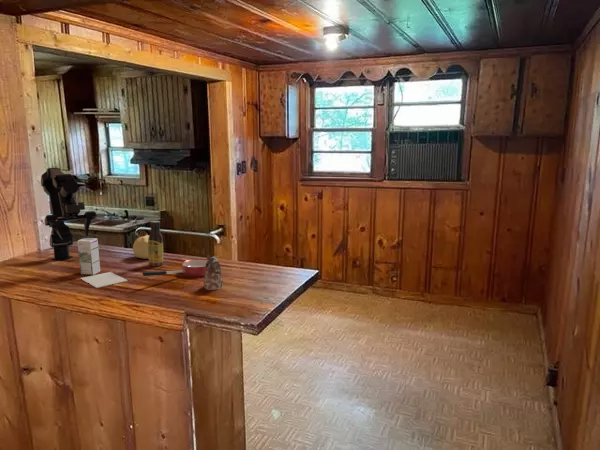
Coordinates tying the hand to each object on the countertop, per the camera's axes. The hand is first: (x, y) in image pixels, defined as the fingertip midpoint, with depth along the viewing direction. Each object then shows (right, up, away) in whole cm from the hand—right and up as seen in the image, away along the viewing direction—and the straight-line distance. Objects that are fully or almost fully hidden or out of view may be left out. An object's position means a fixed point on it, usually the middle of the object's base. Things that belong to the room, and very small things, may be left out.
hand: (75, 237), depth 178 cm
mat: (+15, -17, -7) cm, 23 cm away
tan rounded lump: (+20, -10, +28) cm, 36 cm away
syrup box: (+5, -15, +2) cm, 16 cm away
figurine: (+60, -19, -14) cm, 64 cm away
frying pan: (+45, -17, -4) cm, 48 cm away
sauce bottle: (+29, -13, +15) cm, 35 cm away
